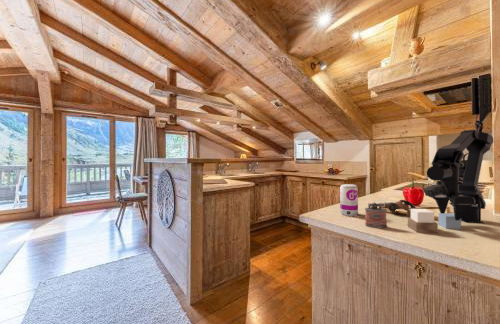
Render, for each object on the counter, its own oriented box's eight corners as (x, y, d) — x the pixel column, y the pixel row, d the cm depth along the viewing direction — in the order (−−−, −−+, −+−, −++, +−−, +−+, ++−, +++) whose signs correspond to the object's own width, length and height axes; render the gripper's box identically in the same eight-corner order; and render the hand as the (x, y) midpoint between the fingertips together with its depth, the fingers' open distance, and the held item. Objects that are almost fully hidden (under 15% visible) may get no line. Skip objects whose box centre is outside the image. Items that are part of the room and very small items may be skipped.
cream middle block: (426, 218, 89) (425, 209, 89) (434, 222, 84) (434, 212, 84) (410, 218, 90) (410, 208, 90) (417, 222, 85) (417, 212, 85)
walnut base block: (427, 227, 90) (427, 218, 90) (437, 234, 83) (437, 223, 83) (407, 227, 92) (407, 217, 91) (416, 233, 85) (416, 222, 85)
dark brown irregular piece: (402, 212, 115) (410, 200, 111) (412, 225, 107) (422, 212, 103) (380, 207, 115) (388, 194, 111) (389, 220, 106) (398, 207, 102)
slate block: (452, 225, 91) (452, 213, 91) (461, 229, 87) (461, 216, 86) (438, 224, 93) (438, 213, 92) (446, 228, 88) (446, 216, 88)
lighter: (365, 226, 93) (365, 203, 93) (364, 224, 96) (364, 201, 96) (387, 228, 90) (387, 204, 90) (385, 225, 93) (385, 202, 93)
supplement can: (361, 216, 108) (360, 185, 108) (344, 216, 108) (343, 186, 108) (353, 212, 116) (353, 183, 116) (337, 212, 116) (337, 184, 116)
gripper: (414, 176, 100) (415, 210, 100) (440, 181, 82) (440, 223, 82) (443, 176, 97) (443, 211, 98) (476, 181, 79) (476, 224, 80)
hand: (449, 216), depth 89 cm, fingers open, 9 cm apart
